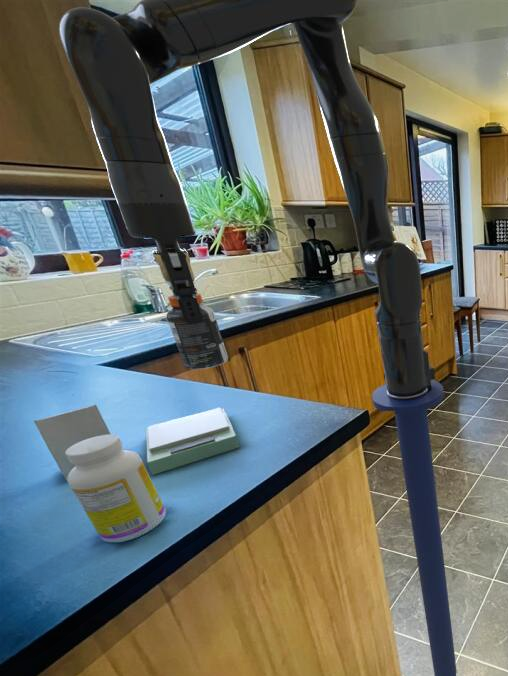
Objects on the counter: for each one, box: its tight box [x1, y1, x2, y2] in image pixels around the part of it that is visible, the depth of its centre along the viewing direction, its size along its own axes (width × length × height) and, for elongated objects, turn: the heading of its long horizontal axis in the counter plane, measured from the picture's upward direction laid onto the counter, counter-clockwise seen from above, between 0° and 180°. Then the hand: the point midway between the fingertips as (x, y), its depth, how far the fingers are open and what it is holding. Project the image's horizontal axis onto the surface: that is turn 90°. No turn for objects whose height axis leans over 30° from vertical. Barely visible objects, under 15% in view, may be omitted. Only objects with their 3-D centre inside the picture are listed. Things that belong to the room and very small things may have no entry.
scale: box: [145, 406, 241, 476], centre depth 71 cm, size 12×14×3 cm
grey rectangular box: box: [33, 404, 112, 482], centre depth 64 cm, size 4×7×10 cm, turn 141°
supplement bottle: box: [65, 434, 167, 543], centre depth 50 cm, size 7×7×13 cm
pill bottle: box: [166, 292, 229, 370], centre depth 63 cm, size 6×6×11 cm
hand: (192, 318), depth 62 cm, fingers closed on pill bottle, 6 cm apart
